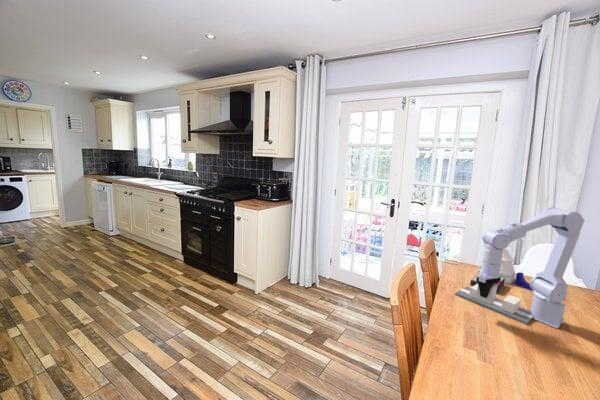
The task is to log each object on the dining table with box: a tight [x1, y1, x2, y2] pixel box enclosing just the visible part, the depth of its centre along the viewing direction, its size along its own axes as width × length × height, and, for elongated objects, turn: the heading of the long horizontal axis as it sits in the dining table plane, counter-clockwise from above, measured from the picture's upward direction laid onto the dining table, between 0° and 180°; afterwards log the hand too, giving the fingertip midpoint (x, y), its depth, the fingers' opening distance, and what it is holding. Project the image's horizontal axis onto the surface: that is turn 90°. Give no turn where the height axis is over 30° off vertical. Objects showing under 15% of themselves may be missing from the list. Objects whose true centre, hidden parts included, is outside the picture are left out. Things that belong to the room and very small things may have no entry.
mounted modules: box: [469, 284, 522, 314], centre depth 115 cm, size 16×8×4 cm, turn 37°
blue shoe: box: [514, 272, 533, 292], centre depth 132 cm, size 12×4×6 cm, turn 26°
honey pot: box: [499, 248, 516, 284], centre depth 142 cm, size 13×13×18 cm
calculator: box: [469, 272, 505, 295], centre depth 134 cm, size 11×4×15 cm
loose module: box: [476, 284, 498, 304], centre depth 105 cm, size 5×4×7 cm
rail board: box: [454, 286, 533, 326], centre depth 116 cm, size 26×12×1 cm, turn 37°
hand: (486, 295), depth 105 cm, fingers closed on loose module, 4 cm apart
